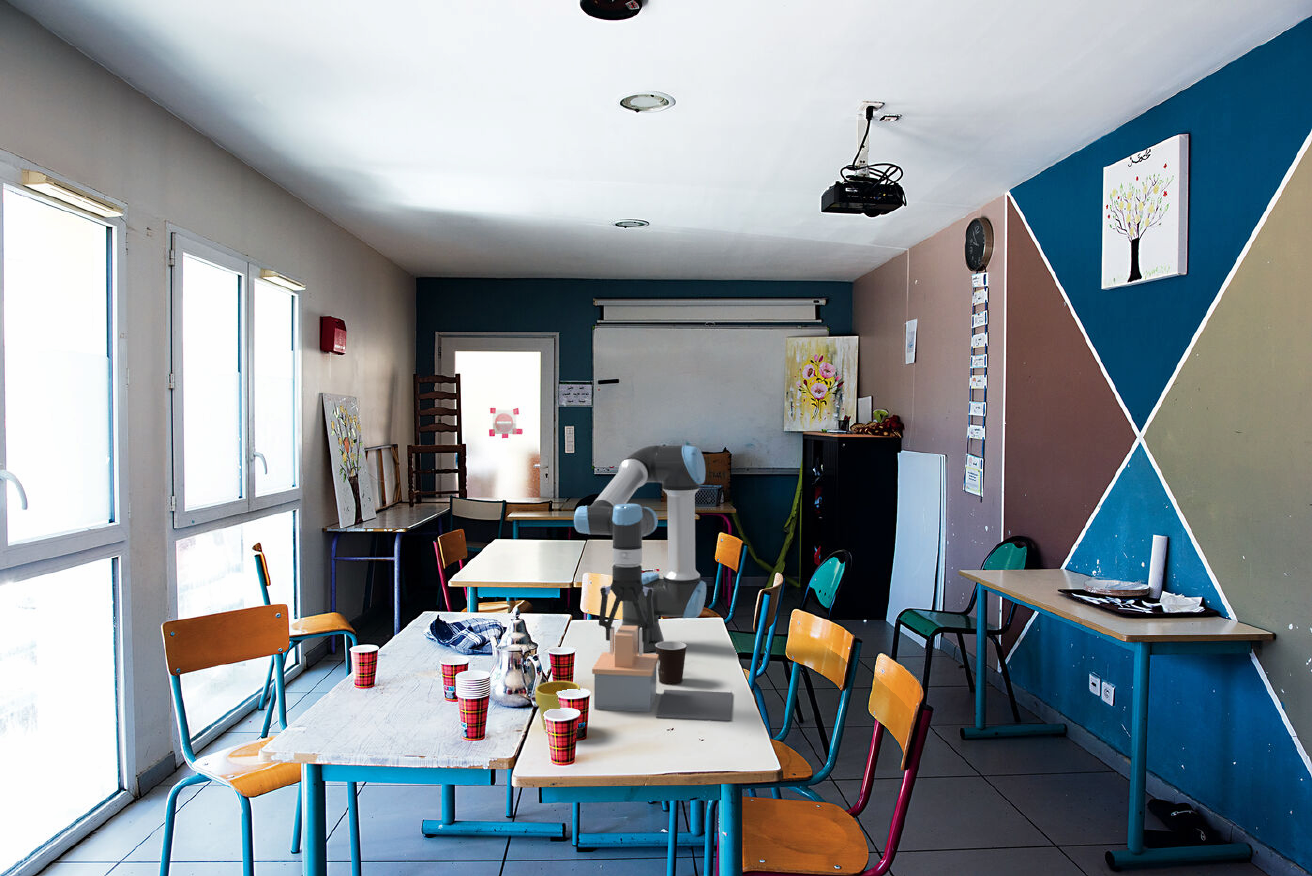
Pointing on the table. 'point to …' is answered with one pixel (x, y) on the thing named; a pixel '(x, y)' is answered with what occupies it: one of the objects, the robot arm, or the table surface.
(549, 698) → the plant pot
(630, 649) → the lid
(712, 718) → the mat
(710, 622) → the table surface
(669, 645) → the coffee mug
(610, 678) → the storage box
